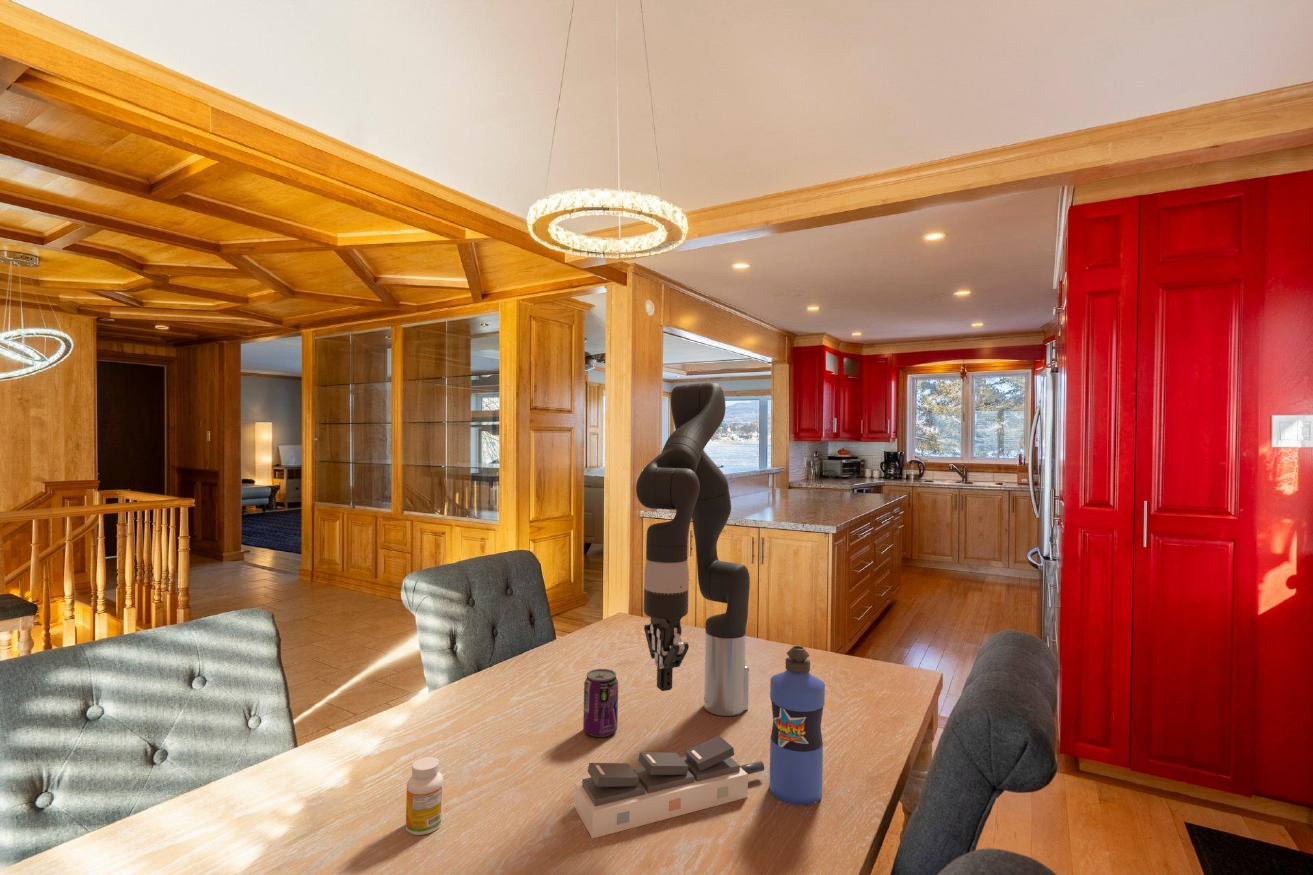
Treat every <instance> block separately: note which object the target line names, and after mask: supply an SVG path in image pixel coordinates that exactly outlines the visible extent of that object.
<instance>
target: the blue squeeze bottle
mask: <svg viewBox="0 0 1313 875" xmlns="http://www.w3.org/2000/svg"><path fill="white" fill-rule="evenodd" d="M786 655H787V657H786V658H785V666H784V667H785V671H783V672H779V673H777V674H774V675H772V676H771V677H770V679H769V681H770V684H769V688H770V692H769V698H770V702H771V711H772V728H771V734H770V741H769V742H770V745H769V747H770V748H769V785H768V786H769V791H770V793H771V795H772V796H773V797H775V798H776V799H777V800H779V801H781V802H783V803H786V804H789V803H790V804H789V805H793V806H801V805H804V806H810V805H809V804H812V805H814V804H816V803H815V802H817V801H818V802H820V800H822V798H823V770H824V769H823V767H824V766H823V761H824V760H823V758H824V756H823V755H824V754H823V752H824V742H823V737H822V736H823V735H822V720H823V713H824V706H825V704H826V703H825V702H826V698H825V697H826V683H825V682H824V681H823V680H822V679H821V678H819V677H817V676H815V675H813V674H812V673H810V671H811V660H810V659H809V658H810V653H808V651H806V649H805V648H804V647H803V646H799V645H794V646H792V647H791V648H790V649H789V650H788V651H787V652H786ZM821 797H822V798H821ZM818 802H817V803H818ZM813 803H814V804H813Z"/></svg>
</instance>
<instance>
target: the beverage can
mask: <svg viewBox="0 0 1313 875" xmlns="http://www.w3.org/2000/svg"><path fill="white" fill-rule="evenodd" d="M583 683H584V684H583V685H584V687H583V721H582V722H583V723H582V725H583V726H582V728H583V731H584V733H586V734H587V735H590V736H592V737H595V738H604V737H608V736H610V735H612V734H614V733H616V732H617V731H618V721H619V720H618V715H619V713H618V712H619V681H618V679H617V672H616V671H614V670H612V669H608V668H595V669H592V670H589V671H588V672H586V678H585V680H584V682H583Z"/></svg>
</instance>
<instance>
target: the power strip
mask: <svg viewBox="0 0 1313 875" xmlns="http://www.w3.org/2000/svg"><path fill="white" fill-rule="evenodd" d="M680 758H681V759H682V760H683V761H684V762H685V763H686V764H687V765H688V766H689V767H688V772H687V775H650V774H649V773H648V772H647V771H646V769H645V768H644V767H643V766H642V765H641V766H635V767H632V769H633V770H634V771H635V773H636V774H637V775H638V777H639V781H638V786H604V787H597V785H596V784H595V782H594V781H593V779H592V778H591V777H588V778H587V777H586V778H583V779H582V780H580V781H576V782H574V809H575V810H576V813H577V814H578V815H579V817H580V819H581V821H582V824H583V825H584V827H585V828H586V830H587V832H588V833H589V835H590V837H591V839H597V838H600V837H604V836H608V835H612V834H614V833H619V832H623V831H626V830H630V829H634V828H638V827H641V826H646V825H649V824H653V823H655V822H660V821H664V820H667V819H671V818H675V817H679V816H683V815H686V814H690V813H694V812H698V811H701V810H704V809H705V810H707V809H709V807H710V808H713V807H716V806H720V805H724V804H729V803H731V802H735V801H736V802H737V801H740V800H744V799H748V796H749V795H748V793H749V792H748V791H749V790H748V788H749V786H748V785H749V775H753V774H755V773H756V774H757V773H760V772H763V771H765V765H764V762H763V761H762V760H760V761H756V762H751V763H748V764H744V765H740V764H739V763H738V762H737V761H735V759H733V758H732V757H729V758H727V759H725V760H723V761H721V762H719V763H717V764H715V765H713V766H711V767H708V768H706V769H704V770H702V771H699V770H698V769H697V768H696V767H695V766H694V765H693V764H692V763H691V762H690V761H689V760H688V759H687V758H686V755H685V756H682V757H681V756H680Z"/></svg>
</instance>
